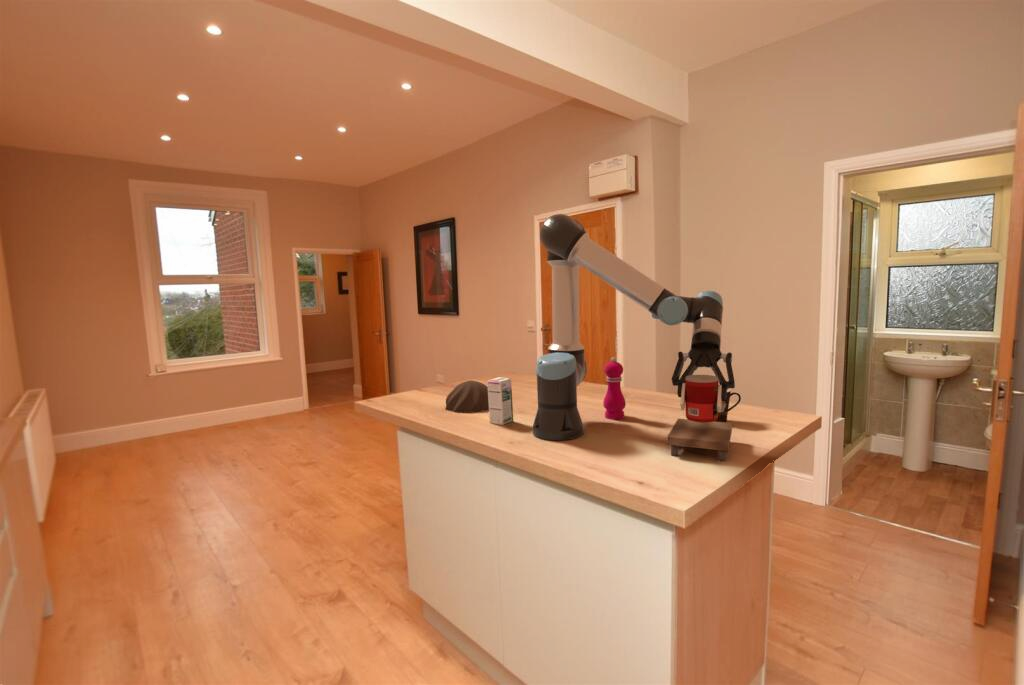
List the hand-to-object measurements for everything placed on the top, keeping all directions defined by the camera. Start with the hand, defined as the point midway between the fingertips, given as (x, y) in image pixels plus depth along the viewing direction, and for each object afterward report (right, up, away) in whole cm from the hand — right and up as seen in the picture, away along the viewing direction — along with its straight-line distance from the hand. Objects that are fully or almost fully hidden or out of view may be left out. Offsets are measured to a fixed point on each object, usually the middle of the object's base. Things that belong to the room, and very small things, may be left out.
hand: (700, 408), depth 123 cm
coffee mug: (+17, -8, +28) cm, 34 cm away
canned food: (+2, -3, +3) cm, 5 cm away
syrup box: (-51, -10, +37) cm, 64 cm away
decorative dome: (-63, -8, +61) cm, 88 cm away
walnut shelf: (+2, -11, +4) cm, 12 cm away
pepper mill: (-14, -8, +38) cm, 41 cm away
